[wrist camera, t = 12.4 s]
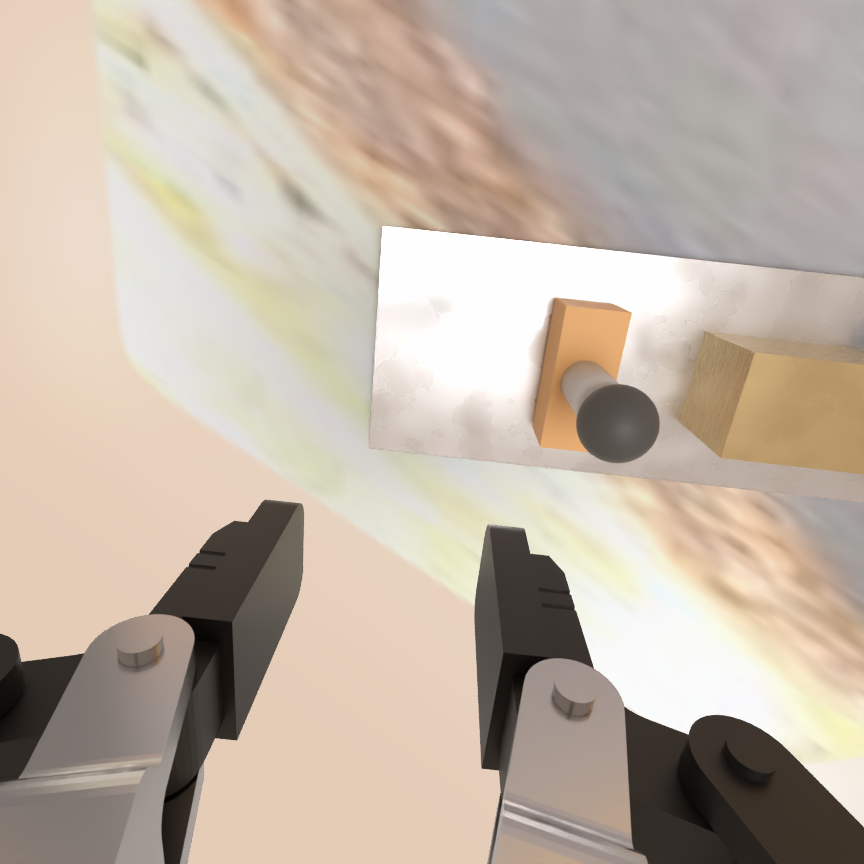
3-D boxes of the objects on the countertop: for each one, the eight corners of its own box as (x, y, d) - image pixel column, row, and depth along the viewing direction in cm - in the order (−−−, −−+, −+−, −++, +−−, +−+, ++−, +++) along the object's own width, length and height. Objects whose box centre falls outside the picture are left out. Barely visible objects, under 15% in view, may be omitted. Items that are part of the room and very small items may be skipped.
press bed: (373, 435, 33) (356, 478, 27) (387, 225, 29) (370, 226, 23) (864, 489, 33) (947, 543, 27) (951, 287, 29) (1072, 301, 23)
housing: (679, 421, 30) (720, 458, 25) (705, 331, 28) (754, 352, 23) (823, 438, 30) (891, 477, 25) (858, 349, 28) (939, 373, 23)
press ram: (532, 426, 30) (567, 519, 20) (555, 297, 27) (607, 335, 18) (586, 432, 30) (646, 528, 20) (614, 303, 27) (698, 345, 18)
